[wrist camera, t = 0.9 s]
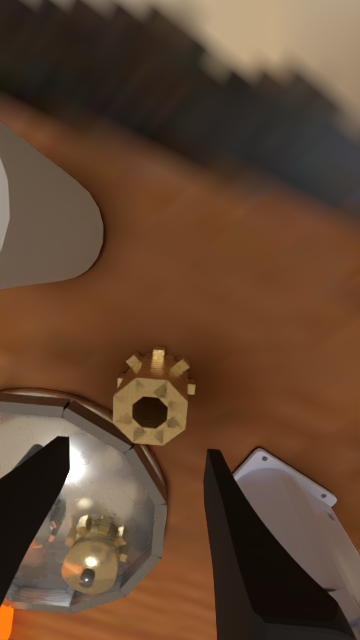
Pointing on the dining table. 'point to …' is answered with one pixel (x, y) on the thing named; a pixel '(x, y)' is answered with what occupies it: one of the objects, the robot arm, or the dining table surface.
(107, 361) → the dining table surface
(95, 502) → the carrier
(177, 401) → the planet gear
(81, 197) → the can
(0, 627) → the orange juice
